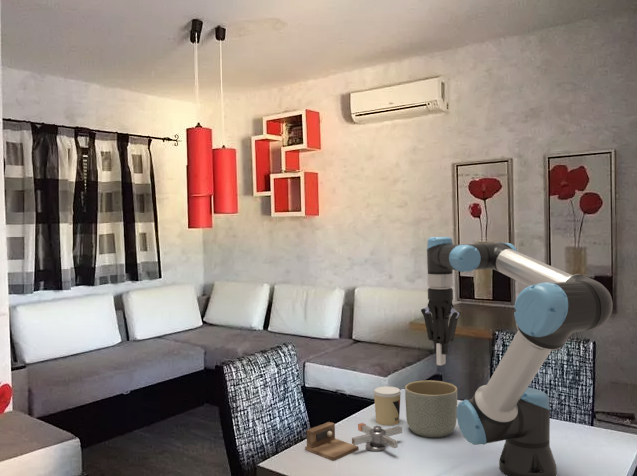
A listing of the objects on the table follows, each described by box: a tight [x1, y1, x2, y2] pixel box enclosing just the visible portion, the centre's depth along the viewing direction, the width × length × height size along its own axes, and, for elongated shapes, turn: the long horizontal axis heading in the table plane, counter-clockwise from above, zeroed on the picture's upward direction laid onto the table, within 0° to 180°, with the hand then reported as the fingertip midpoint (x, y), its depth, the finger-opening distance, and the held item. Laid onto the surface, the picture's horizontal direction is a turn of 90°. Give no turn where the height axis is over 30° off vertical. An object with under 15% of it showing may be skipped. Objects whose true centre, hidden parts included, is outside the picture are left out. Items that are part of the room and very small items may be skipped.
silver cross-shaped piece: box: [351, 422, 403, 453], centre depth 181 cm, size 18×18×6 cm
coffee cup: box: [373, 385, 402, 426], centre depth 203 cm, size 9×9×12 cm
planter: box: [404, 379, 458, 438], centre depth 194 cm, size 17×17×15 cm
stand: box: [304, 421, 359, 462], centre depth 180 cm, size 20×21×7 cm
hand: (441, 364), depth 180 cm, fingers closed
